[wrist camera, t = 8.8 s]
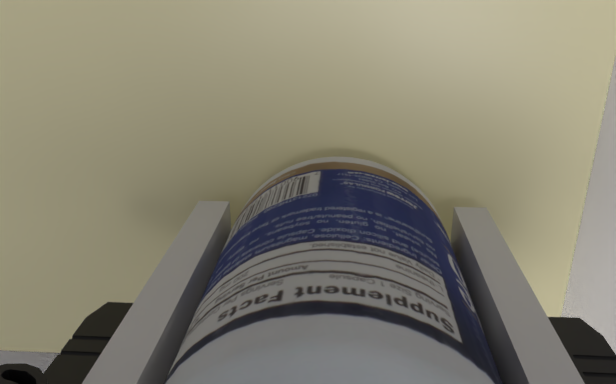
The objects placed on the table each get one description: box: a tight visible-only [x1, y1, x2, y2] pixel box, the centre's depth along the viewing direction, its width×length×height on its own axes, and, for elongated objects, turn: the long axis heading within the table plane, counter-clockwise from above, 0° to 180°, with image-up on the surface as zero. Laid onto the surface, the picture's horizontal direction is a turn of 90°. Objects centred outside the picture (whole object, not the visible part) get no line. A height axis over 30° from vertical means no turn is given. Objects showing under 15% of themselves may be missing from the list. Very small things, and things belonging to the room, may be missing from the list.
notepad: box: [0, 0, 616, 353], centre depth 13 cm, size 18×14×1 cm
